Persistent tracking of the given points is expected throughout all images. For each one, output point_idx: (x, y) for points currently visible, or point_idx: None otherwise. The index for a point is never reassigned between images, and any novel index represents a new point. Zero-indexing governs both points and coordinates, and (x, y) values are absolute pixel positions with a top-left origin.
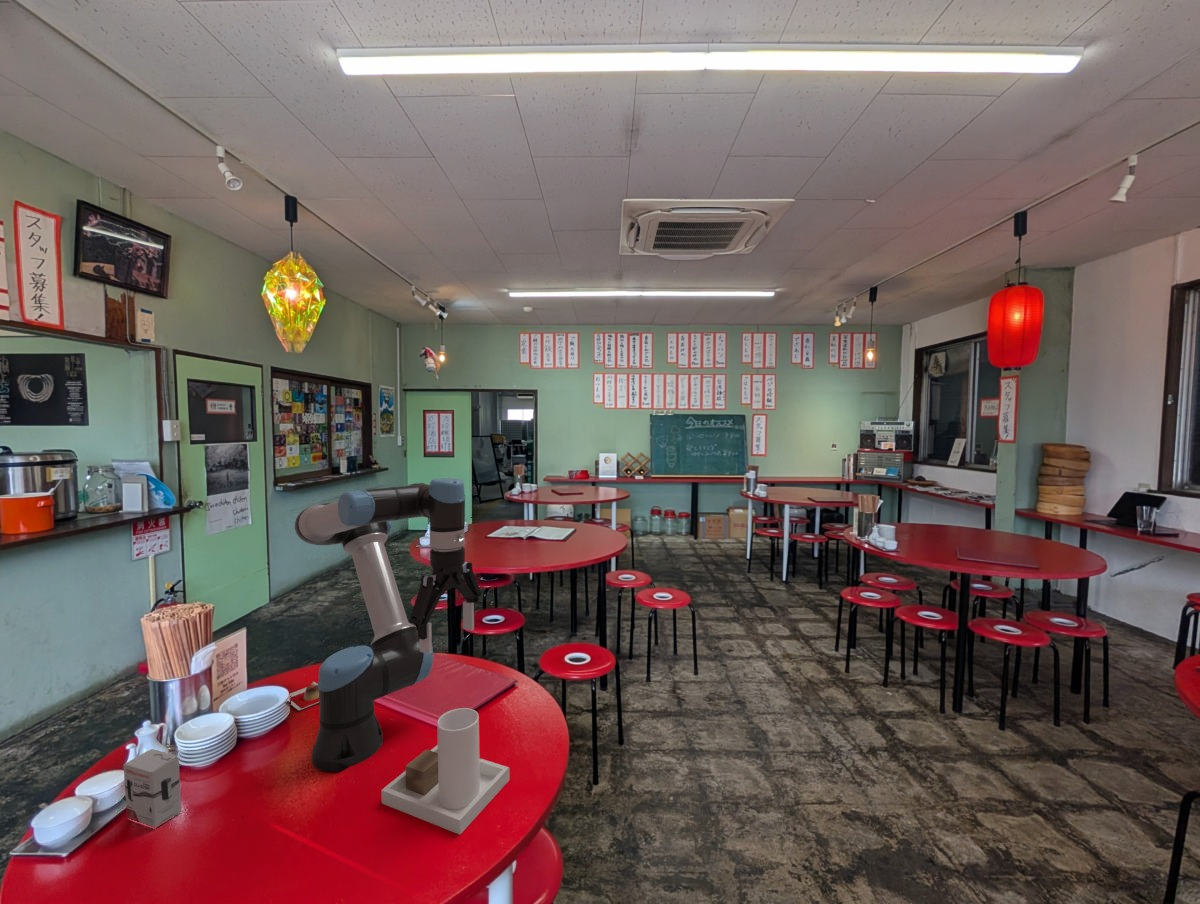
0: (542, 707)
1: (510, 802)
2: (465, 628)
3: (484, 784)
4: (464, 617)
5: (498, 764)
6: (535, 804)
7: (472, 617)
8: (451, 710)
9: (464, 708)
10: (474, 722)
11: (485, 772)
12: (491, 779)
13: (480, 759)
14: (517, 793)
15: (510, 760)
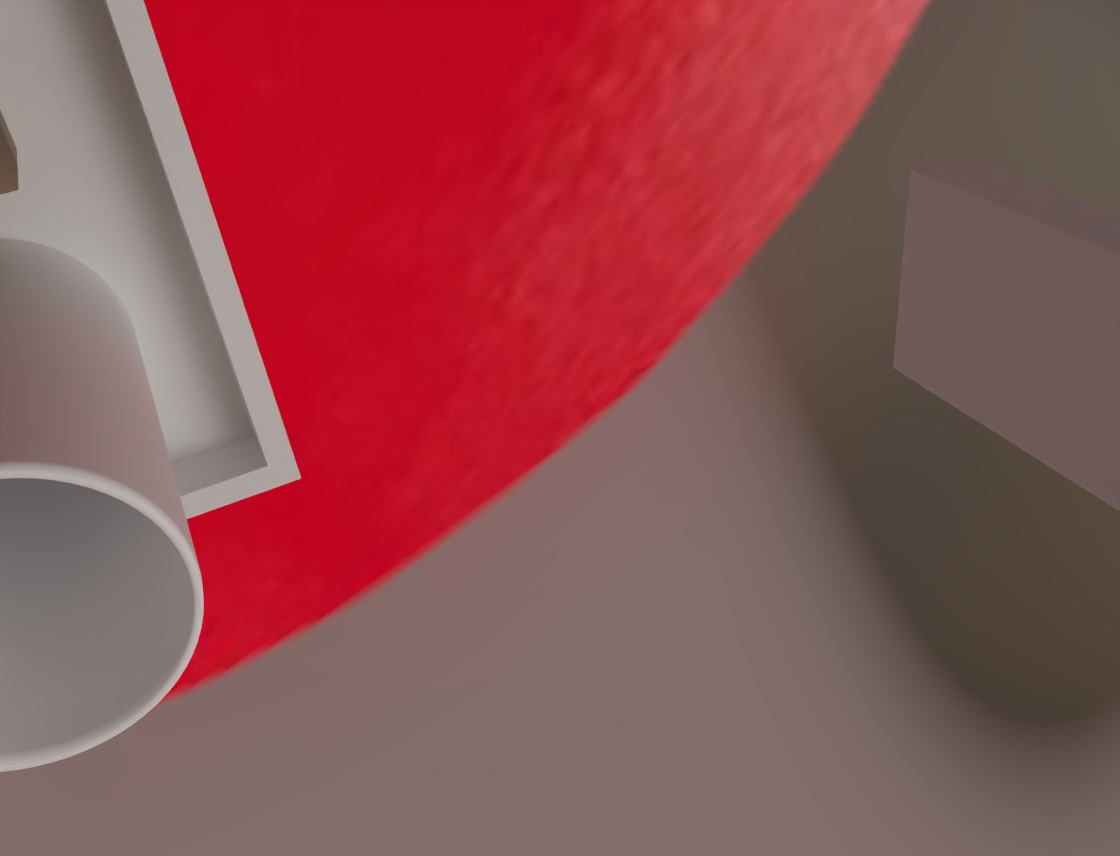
0: (861, 51)
1: (196, 541)
2: (915, 235)
3: (169, 385)
4: (1098, 292)
5: (278, 418)
6: (268, 616)
7: (1100, 483)
8: (42, 475)
9: (157, 523)
10: (91, 746)
11: (221, 338)
12: (222, 380)
13: (236, 304)
14: (261, 515)
15: (409, 296)
